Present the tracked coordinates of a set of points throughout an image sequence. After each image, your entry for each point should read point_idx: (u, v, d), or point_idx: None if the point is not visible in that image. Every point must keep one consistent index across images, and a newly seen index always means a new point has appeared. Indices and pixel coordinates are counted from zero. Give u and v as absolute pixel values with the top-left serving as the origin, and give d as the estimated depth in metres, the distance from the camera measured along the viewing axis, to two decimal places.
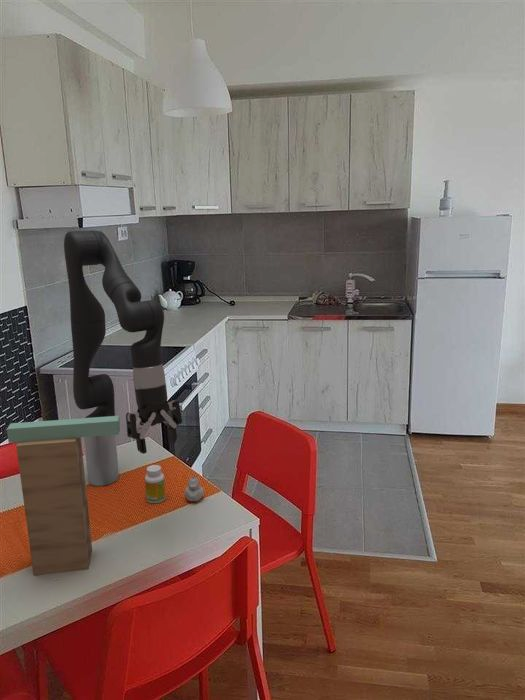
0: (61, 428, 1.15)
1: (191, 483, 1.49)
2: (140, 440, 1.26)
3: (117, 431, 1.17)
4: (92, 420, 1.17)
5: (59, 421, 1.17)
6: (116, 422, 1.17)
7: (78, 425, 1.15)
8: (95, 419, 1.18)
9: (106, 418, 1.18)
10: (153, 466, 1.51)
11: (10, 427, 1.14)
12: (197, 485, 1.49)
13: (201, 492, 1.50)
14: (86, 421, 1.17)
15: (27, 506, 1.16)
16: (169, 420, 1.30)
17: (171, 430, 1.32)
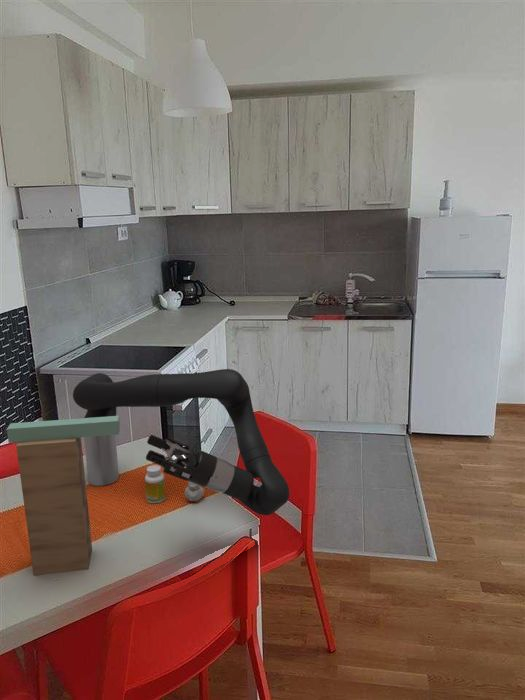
0: (61, 428, 1.15)
1: (191, 483, 1.49)
2: None
3: (117, 431, 1.17)
4: (92, 420, 1.17)
5: (59, 421, 1.17)
6: (116, 422, 1.17)
7: (78, 425, 1.15)
8: (95, 419, 1.18)
9: (106, 418, 1.18)
10: (153, 466, 1.51)
11: (10, 427, 1.14)
12: (197, 485, 1.49)
13: (201, 492, 1.50)
14: (86, 421, 1.17)
15: (27, 506, 1.16)
16: None
17: (160, 446, 1.26)
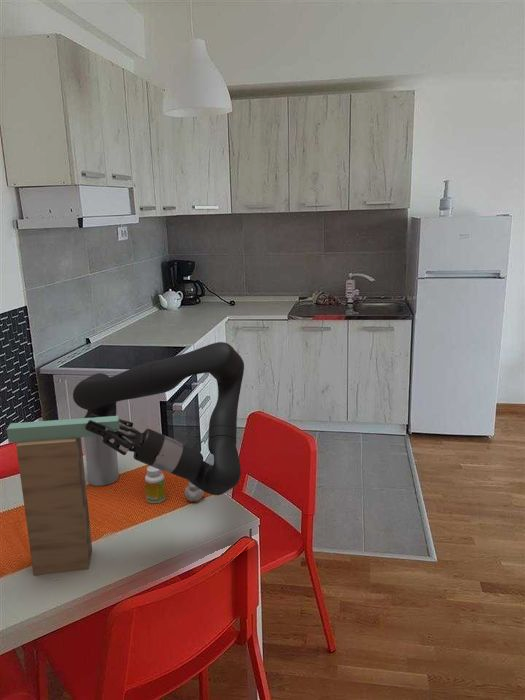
0: (61, 428, 1.15)
1: (191, 483, 1.49)
2: None
3: None
4: (92, 420, 1.17)
5: (59, 421, 1.17)
6: (116, 422, 1.17)
7: (78, 425, 1.15)
8: (95, 419, 1.18)
9: (106, 418, 1.18)
10: None
11: (10, 427, 1.14)
12: None
13: (201, 492, 1.50)
14: (86, 421, 1.17)
15: (27, 506, 1.16)
16: None
17: None
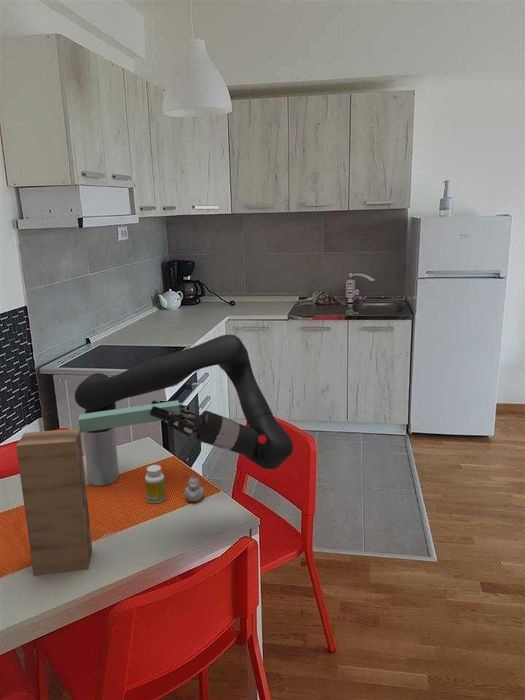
0: (128, 415, 1.23)
1: (191, 483, 1.49)
2: None
3: None
4: None
5: (124, 409, 1.25)
6: (178, 406, 1.25)
7: (143, 411, 1.23)
8: (157, 405, 1.26)
9: (167, 403, 1.26)
10: (153, 466, 1.51)
11: (81, 418, 1.22)
12: (197, 485, 1.49)
13: (201, 492, 1.50)
14: (149, 407, 1.25)
15: (27, 506, 1.16)
16: None
17: None
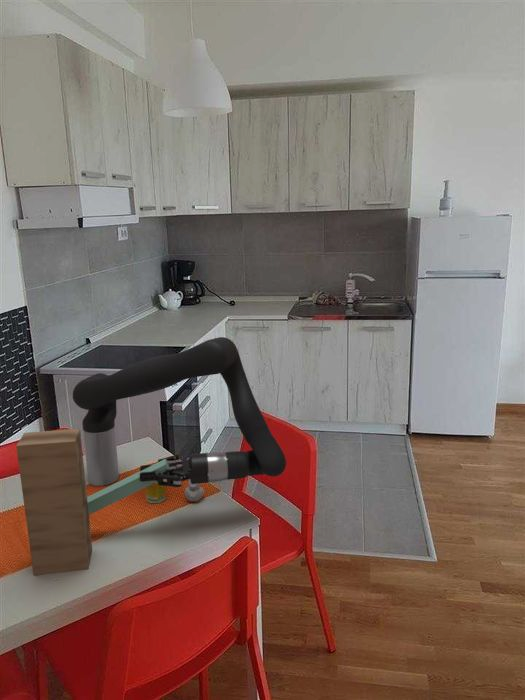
0: (123, 488, 1.31)
1: (191, 483, 1.49)
2: None
3: None
4: (145, 471, 1.33)
5: (119, 482, 1.33)
6: (165, 465, 1.32)
7: (135, 480, 1.32)
8: (147, 470, 1.33)
9: (156, 465, 1.34)
10: None
11: None
12: (197, 485, 1.49)
13: (201, 492, 1.50)
14: None
15: (27, 506, 1.16)
16: None
17: None
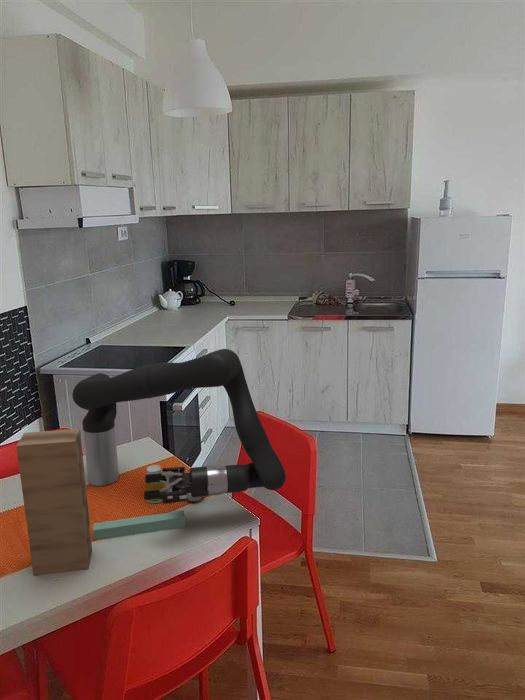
0: (138, 526, 1.35)
1: None
2: None
3: (184, 525, 1.38)
4: (163, 516, 1.38)
5: (135, 519, 1.37)
6: (183, 518, 1.38)
7: (152, 522, 1.36)
8: (164, 516, 1.38)
9: (174, 514, 1.39)
10: (153, 466, 1.51)
11: (95, 528, 1.33)
12: None
13: None
14: (157, 518, 1.37)
15: (27, 506, 1.16)
16: None
17: (158, 480, 1.39)
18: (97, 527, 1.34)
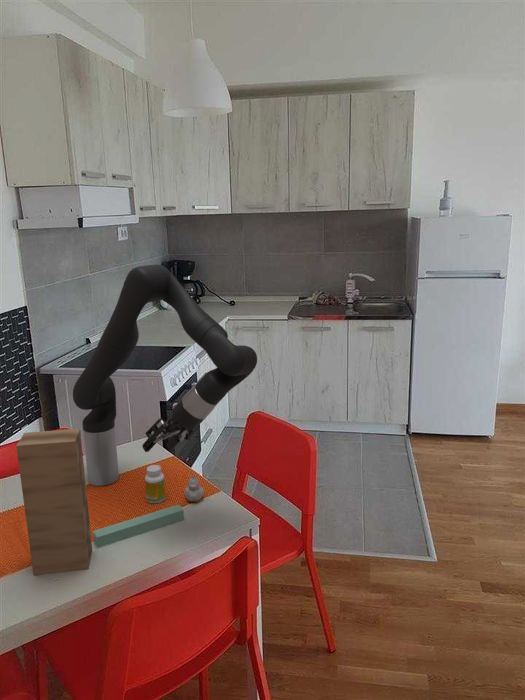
0: (140, 526, 1.35)
1: (191, 483, 1.49)
2: (152, 442, 1.29)
3: (183, 518, 1.42)
4: (161, 513, 1.40)
5: (134, 520, 1.36)
6: (182, 511, 1.41)
7: (153, 520, 1.37)
8: (163, 512, 1.40)
9: (171, 509, 1.41)
10: (153, 466, 1.51)
11: (98, 535, 1.30)
12: (197, 485, 1.49)
13: (201, 492, 1.50)
14: (157, 515, 1.39)
15: (27, 506, 1.16)
16: (182, 437, 1.34)
17: (176, 441, 1.36)
18: (99, 534, 1.31)
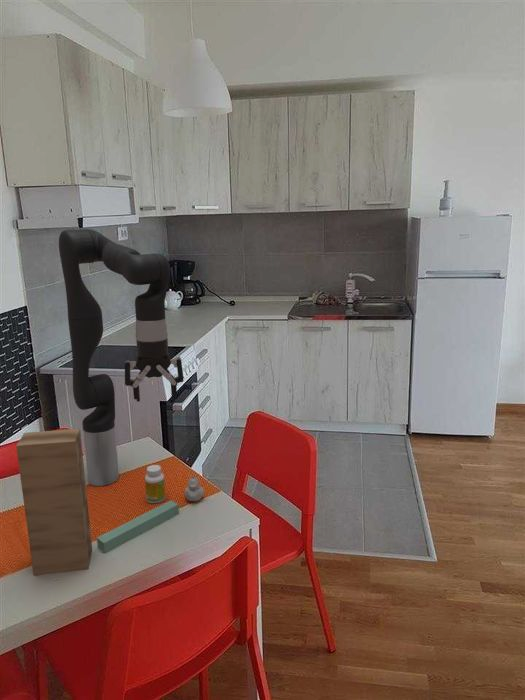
0: (142, 525, 1.35)
1: (191, 483, 1.49)
2: (134, 388, 1.31)
3: (178, 512, 1.44)
4: (158, 510, 1.41)
5: (134, 521, 1.36)
6: (177, 505, 1.44)
7: (153, 518, 1.38)
8: (159, 509, 1.41)
9: (166, 505, 1.43)
10: (153, 466, 1.51)
11: (104, 540, 1.28)
12: (197, 485, 1.49)
13: (201, 492, 1.50)
14: (155, 513, 1.40)
15: (27, 506, 1.16)
16: (166, 376, 1.31)
17: None
18: (105, 539, 1.29)
